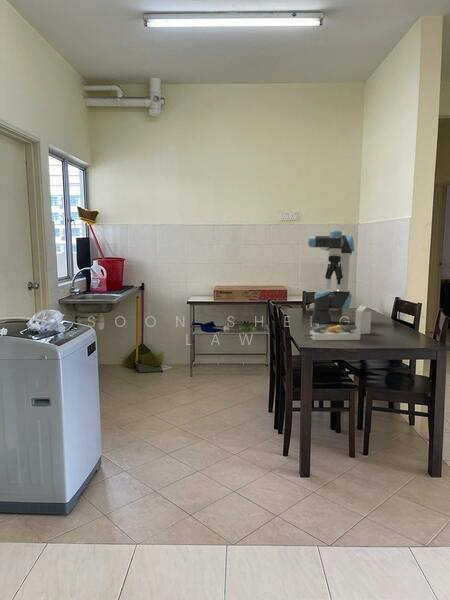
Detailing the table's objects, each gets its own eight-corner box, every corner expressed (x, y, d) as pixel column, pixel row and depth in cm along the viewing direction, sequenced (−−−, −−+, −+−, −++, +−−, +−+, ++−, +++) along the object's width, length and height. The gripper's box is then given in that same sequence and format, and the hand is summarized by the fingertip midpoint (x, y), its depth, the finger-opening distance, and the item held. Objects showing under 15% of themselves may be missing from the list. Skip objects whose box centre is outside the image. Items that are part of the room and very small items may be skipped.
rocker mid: (327, 330, 276) (326, 327, 275) (339, 327, 276) (338, 324, 276) (329, 332, 271) (329, 329, 271) (341, 328, 271) (341, 326, 271)
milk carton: (360, 334, 284) (362, 305, 282) (354, 332, 291) (356, 304, 288) (370, 333, 286) (371, 305, 284) (364, 331, 293) (365, 303, 290)
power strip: (302, 336, 276) (302, 329, 276) (354, 336, 279) (354, 328, 278) (306, 340, 266) (306, 332, 266) (360, 339, 269) (360, 332, 268)
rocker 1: (312, 330, 275) (312, 327, 275) (324, 327, 275) (324, 324, 275) (314, 332, 270) (314, 329, 270) (326, 329, 271) (326, 326, 270)
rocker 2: (342, 330, 276) (341, 327, 276) (354, 327, 277) (353, 324, 276) (344, 331, 272) (343, 329, 271) (356, 328, 272) (356, 325, 272)
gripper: (321, 256, 284) (319, 288, 285) (338, 254, 260) (336, 289, 261) (331, 256, 285) (330, 289, 287) (349, 255, 261) (347, 290, 262)
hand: (333, 289), depth 274 cm, fingers open, 13 cm apart
